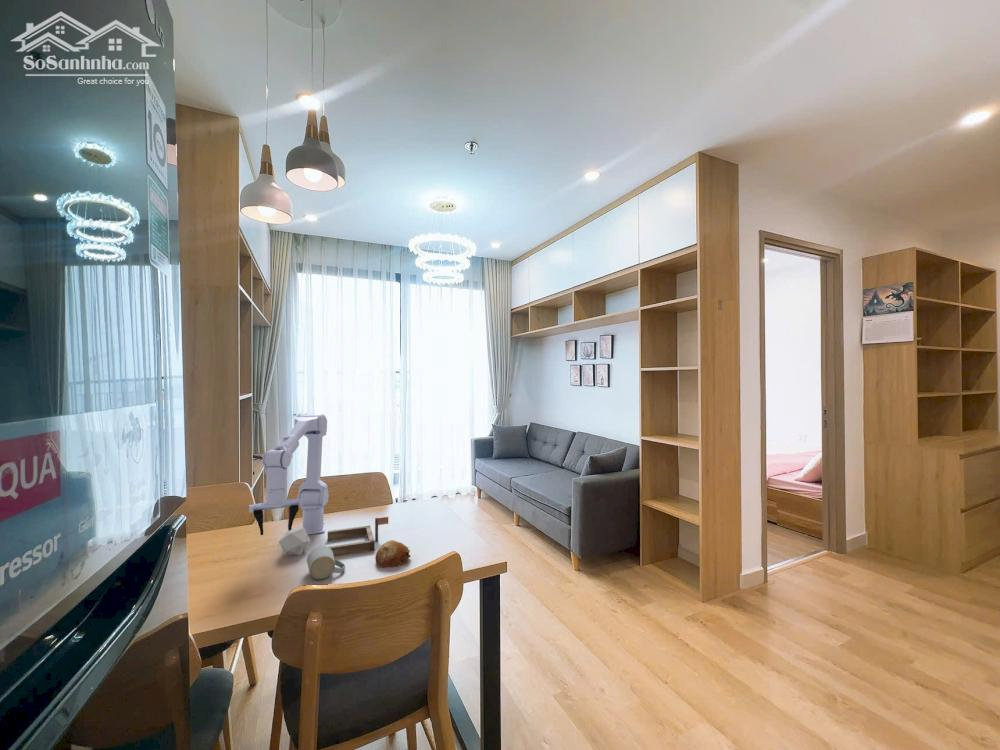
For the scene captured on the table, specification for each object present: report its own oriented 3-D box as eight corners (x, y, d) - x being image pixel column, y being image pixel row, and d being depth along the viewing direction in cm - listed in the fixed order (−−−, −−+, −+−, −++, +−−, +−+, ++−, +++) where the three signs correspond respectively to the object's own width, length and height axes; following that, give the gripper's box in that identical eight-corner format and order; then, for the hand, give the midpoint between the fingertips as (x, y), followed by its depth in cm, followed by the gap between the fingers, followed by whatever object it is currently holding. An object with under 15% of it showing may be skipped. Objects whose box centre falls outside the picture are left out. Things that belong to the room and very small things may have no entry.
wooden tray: (327, 539, 149) (327, 517, 149) (385, 531, 156) (385, 510, 156) (327, 557, 134) (327, 532, 134) (391, 547, 142) (391, 524, 142)
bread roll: (387, 565, 137) (377, 542, 137) (415, 551, 137) (405, 529, 137) (377, 580, 127) (366, 555, 127) (408, 566, 127) (397, 541, 127)
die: (289, 563, 131) (309, 535, 134) (268, 548, 133) (288, 520, 136) (300, 561, 139) (319, 535, 142) (280, 547, 141) (299, 521, 143)
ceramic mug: (309, 583, 117) (309, 557, 117) (306, 572, 124) (307, 547, 124) (347, 575, 123) (347, 550, 123) (342, 565, 129) (343, 541, 129)
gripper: (250, 493, 124) (249, 540, 123) (303, 487, 131) (303, 531, 131) (249, 489, 130) (248, 533, 129) (300, 483, 137) (300, 525, 137)
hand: (275, 531), depth 131 cm, fingers open, 7 cm apart
